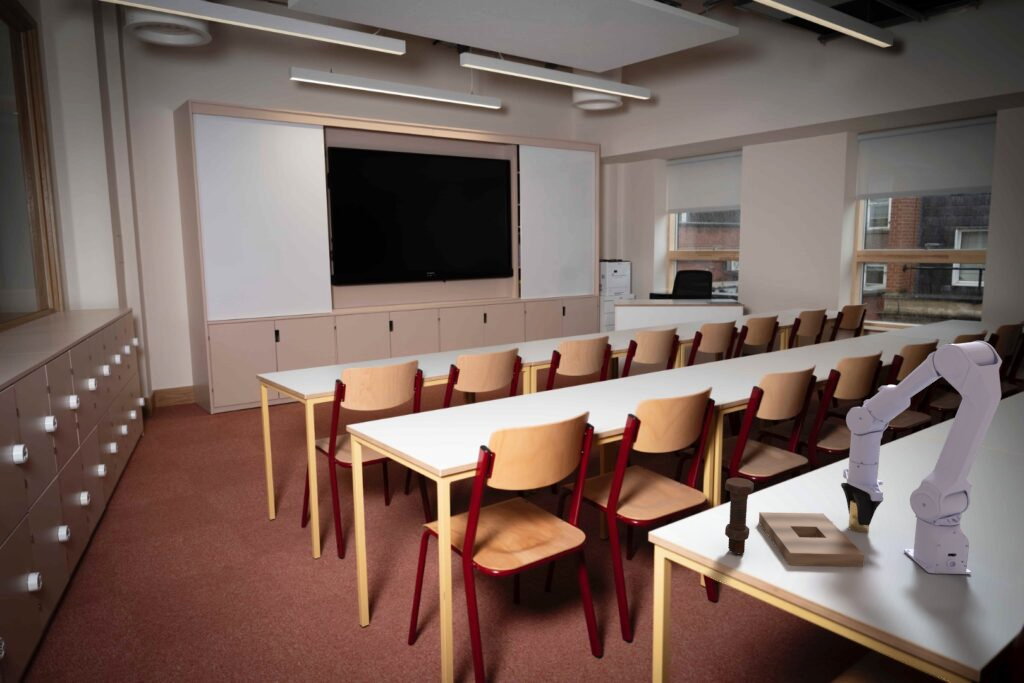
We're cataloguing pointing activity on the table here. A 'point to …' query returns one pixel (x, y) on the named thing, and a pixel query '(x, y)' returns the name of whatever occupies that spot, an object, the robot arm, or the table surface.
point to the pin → (855, 519)
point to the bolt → (738, 513)
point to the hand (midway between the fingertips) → (859, 520)
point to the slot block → (810, 539)
